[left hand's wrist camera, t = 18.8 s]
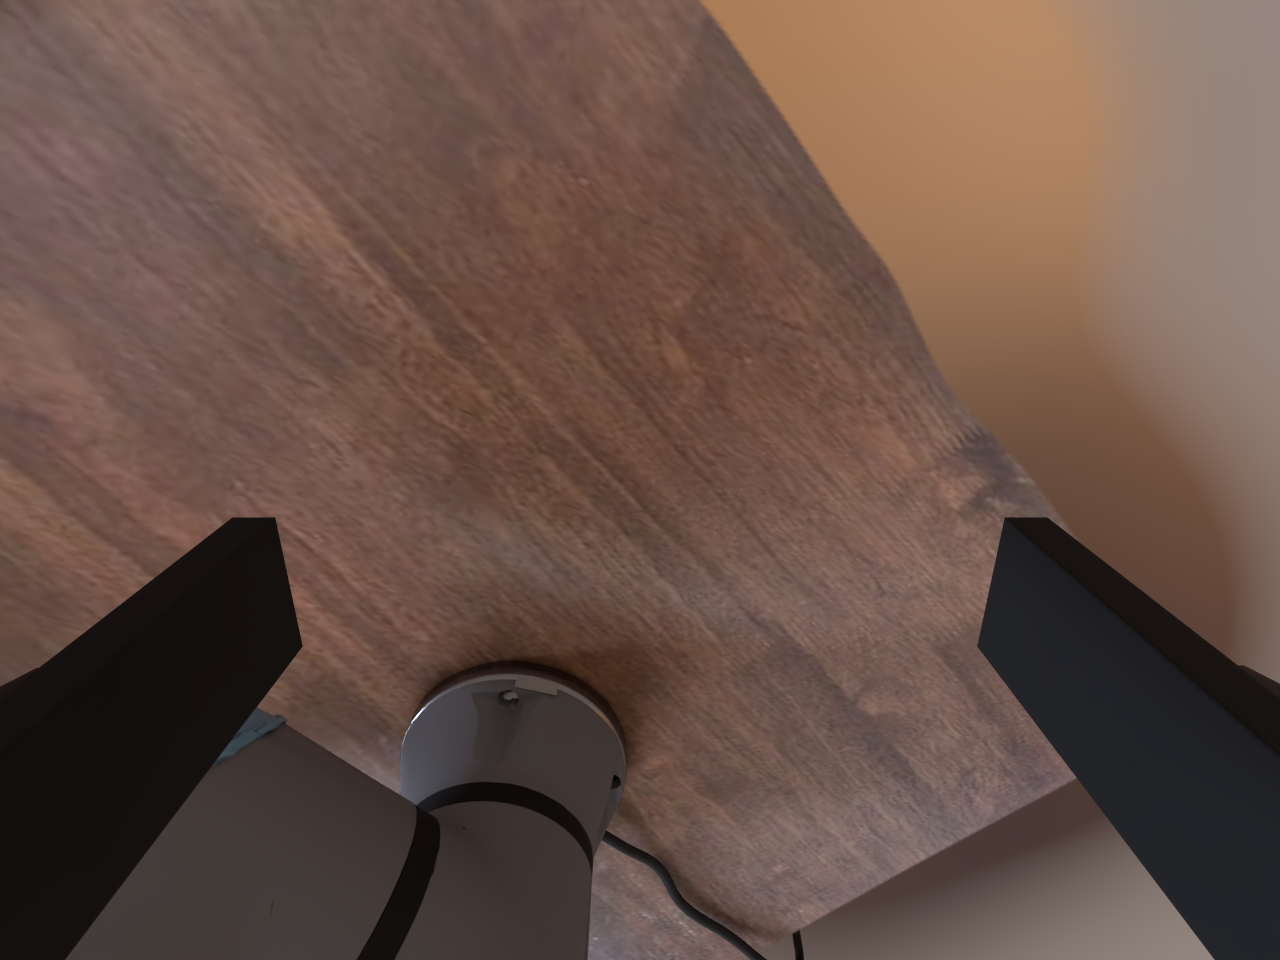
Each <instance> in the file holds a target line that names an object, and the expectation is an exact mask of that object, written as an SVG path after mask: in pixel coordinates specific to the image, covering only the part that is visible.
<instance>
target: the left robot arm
mask: <svg viewBox="0 0 1280 960" xmlns="http://www.w3.org/2000/svg"><path fill="white" fill-rule="evenodd" d="M302 647H303V646H302V641H301V636H300V632H299V627H298V622H297V618H296V613H295V608H294V604H293V599H292V594H291V590H290V585H289V580H288V575H287V571H286V566H285V561H284V557H283V552H282V547H281V543H280V538H279V533H278V529H277V524H276V519H275V518H231V519H230V520H229V521H228V522H226V523H225V524H224V525H222V526H221V527H220V528H219V529H217V530H216V531H215V532H213V533H212V534H211V535H209V536H208V537H207V538H206V539H204V540H203V541H202V542H200V543H199V544H198V545H197V546H195V547H194V548H193V549H191V550H190V551H189V552H188V553H186V554H185V555H184V556H182V557H181V558H180V559H179V560H177V561H176V562H175V563H173V564H172V565H171V566H170V567H168V568H167V569H166V570H164V571H163V572H162V573H161V574H159V575H158V576H157V577H155V578H154V579H153V580H152V581H150V582H149V583H148V584H146V585H145V586H144V587H143V588H141V589H140V590H139V591H137V592H136V593H135V594H134V595H132V596H131V597H130V598H128V599H127V600H126V601H125V602H123V603H122V604H121V605H119V606H118V607H117V608H116V609H114V610H113V611H112V612H110V613H109V614H108V615H107V616H105V617H104V618H103V619H101V620H100V621H99V622H98V623H96V624H95V625H94V626H92V627H91V628H90V629H89V630H87V631H86V632H85V633H83V634H82V635H81V636H80V637H78V638H77V639H76V640H74V641H73V642H72V643H71V644H69V645H68V646H67V647H65V648H64V649H63V650H62V651H60V652H59V653H58V654H56V655H55V656H54V657H53V658H51V659H50V660H49V661H47V662H46V663H45V664H44V665H42V666H41V667H40V668H36V669H34V670H32V671H30V672H28V673H26V674H24V675H22V676H20V677H18V678H17V679H15V680H13V681H11V682H9V683H7V684H5V685H3V686H1V687H0V960H588V942H589V924H590V905H591V887H592V870H593V858H594V856H595V853H596V851H597V849H598V847H599V845H600V842H601V840H602V841H604V842H605V843H607V844H609V845H610V846H612V847H614V848H615V849H617V850H619V851H621V852H622V853H624V854H626V855H628V856H630V857H632V858H635V859H637V860H639V861H641V862H643V863H645V864H646V865H648V866H649V867H651V868H652V869H653V870H654V871H655V872H656V873H657V874H658V875H659V877H660V878H661V880H662V881H663V883H664V885H665V887H666V889H667V891H668V893H669V895H670V897H671V898H672V900H673V901H674V903H675V904H676V905H677V906H678V907H679V908H680V909H681V910H682V911H683V912H684V913H685V914H686V915H687V916H689V917H690V918H691V919H693V920H694V921H696V922H697V923H699V924H701V925H702V926H704V927H706V928H708V929H709V930H711V931H713V932H715V933H716V934H718V935H720V936H721V937H723V938H724V939H726V940H727V941H728V942H730V943H731V944H732V945H734V946H735V947H736V948H738V949H739V950H740V951H741V952H742V953H744V954H745V955H746V956H747V957H748V958H750V959H751V960H766V959H765V958H764V957H762V956H761V955H760V954H759V953H758V952H756V951H755V950H754V949H753V948H752V947H750V946H749V945H748V944H747V943H746V942H744V941H743V940H742V939H741V938H740V937H738V936H737V935H736V934H734V933H733V932H731V931H730V930H728V929H727V928H726V927H724V926H722V925H721V924H719V923H717V922H716V921H714V920H712V919H710V918H709V917H707V916H705V915H704V914H702V913H700V912H699V911H698V910H696V909H695V908H694V907H692V906H691V905H690V904H689V903H688V902H687V901H686V900H685V899H684V898H683V897H682V896H681V894H680V893H679V891H678V890H677V888H676V886H675V884H674V882H673V880H672V878H671V876H670V874H669V873H668V871H667V870H666V868H665V867H664V866H663V865H662V864H661V863H660V862H659V861H658V860H657V859H656V858H654V857H653V856H651V855H650V854H648V853H646V852H644V851H642V850H640V849H638V848H636V847H634V846H632V845H630V844H628V843H626V842H625V841H623V840H621V839H619V838H618V837H616V836H614V835H613V834H611V833H610V832H608V831H606V829H607V827H608V825H609V823H610V820H611V818H612V816H613V814H614V812H615V809H616V807H617V805H618V803H619V800H620V798H621V796H622V793H623V790H624V785H625V779H626V743H625V737H624V734H623V730H622V728H621V725H620V723H619V721H618V719H617V717H616V715H615V714H614V712H613V711H612V709H611V708H610V706H609V705H608V704H607V703H606V702H605V701H604V699H603V698H602V697H601V696H599V695H598V694H597V693H596V692H595V691H594V690H593V689H591V688H590V687H589V686H587V685H586V684H584V683H583V682H581V681H580V680H578V679H576V678H574V677H572V676H570V675H568V674H566V673H564V672H561V671H559V670H556V669H553V668H549V667H546V666H542V665H537V664H531V663H523V662H498V663H490V664H484V665H479V666H476V667H472V668H469V669H466V670H464V671H461V672H459V673H457V674H455V675H453V676H451V677H449V678H447V679H446V680H444V681H443V682H441V683H440V684H439V685H437V686H436V687H435V688H434V689H433V690H432V691H430V692H429V693H428V694H427V696H426V697H425V698H424V699H423V700H422V702H421V703H420V705H419V706H418V708H417V710H416V712H415V714H414V716H413V718H412V720H411V722H410V725H409V727H408V729H407V732H406V734H405V737H404V739H403V742H402V747H401V753H400V771H401V795H399V794H398V793H396V792H394V791H393V790H391V789H389V788H388V787H386V786H384V785H382V784H381V783H379V782H378V781H376V780H374V779H373V778H371V777H370V776H368V775H366V774H365V773H363V772H362V771H360V770H358V769H357V768H355V767H354V766H352V765H350V764H349V763H347V762H346V761H344V760H342V759H341V758H339V757H338V756H336V755H334V754H333V753H331V752H330V751H328V750H326V749H325V748H323V747H322V746H320V745H318V744H317V743H315V742H314V741H312V740H310V739H309V738H307V737H306V736H304V735H302V734H301V733H299V732H298V731H296V730H295V729H293V728H291V727H290V726H288V725H287V724H285V723H286V722H287V721H288V720H287V719H286V718H285V717H283V716H282V715H274V716H272V715H270V714H268V713H267V712H265V711H263V710H261V709H259V708H257V706H258V705H259V703H260V702H261V701H262V699H263V698H264V697H265V695H266V694H267V693H268V691H269V690H270V689H271V687H272V686H273V685H274V683H275V682H276V681H277V680H278V678H279V677H280V676H281V674H282V673H283V672H284V670H285V669H286V668H287V666H288V665H289V664H290V662H291V661H292V660H293V658H294V657H295V656H296V654H297V653H298V652H299V650H300V649H301V648H302ZM977 647H978V648H979V649H980V650H981V652H982V653H983V654H984V656H985V657H986V658H987V660H988V661H989V662H990V664H991V665H992V666H993V668H994V669H995V670H996V672H997V673H998V674H999V676H1000V677H1001V678H1002V680H1003V681H1004V682H1005V683H1006V685H1007V686H1008V687H1009V689H1010V690H1011V691H1012V693H1013V694H1014V695H1015V697H1016V698H1017V699H1018V701H1019V702H1020V703H1021V705H1022V706H1023V707H1024V709H1025V710H1026V711H1027V713H1028V714H1029V715H1030V716H1031V718H1032V719H1033V720H1034V722H1035V723H1036V724H1037V726H1038V727H1039V728H1040V730H1041V731H1042V732H1043V734H1044V735H1045V736H1046V738H1047V739H1048V740H1049V742H1050V743H1051V744H1052V746H1053V747H1054V748H1055V749H1056V751H1057V752H1058V753H1059V755H1060V756H1061V757H1062V759H1063V760H1064V761H1065V763H1066V764H1067V765H1068V767H1069V768H1070V769H1071V771H1072V772H1073V773H1074V775H1075V776H1076V777H1077V779H1078V780H1079V781H1080V782H1081V784H1082V785H1083V786H1084V788H1085V789H1086V790H1087V792H1088V793H1089V794H1090V796H1091V797H1092V798H1093V800H1094V801H1095V802H1096V804H1097V805H1098V806H1099V808H1100V809H1101V810H1102V812H1103V813H1104V814H1105V816H1106V817H1107V818H1108V819H1109V821H1110V822H1111V823H1112V825H1113V826H1114V827H1115V829H1116V830H1117V831H1118V833H1119V834H1120V835H1121V837H1122V838H1123V839H1124V841H1125V842H1126V843H1127V845H1128V846H1129V847H1130V849H1131V850H1132V851H1133V852H1134V854H1135V855H1136V856H1137V858H1138V859H1139V860H1140V862H1141V863H1142V864H1143V866H1144V867H1145V868H1146V870H1147V871H1148V872H1149V874H1150V875H1151V876H1152V878H1153V879H1154V880H1155V881H1156V883H1157V884H1158V885H1159V887H1160V888H1161V889H1162V891H1163V892H1164V893H1165V895H1166V896H1167V897H1168V899H1169V900H1170V901H1171V903H1172V904H1173V905H1174V907H1175V908H1176V909H1177V911H1178V912H1179V913H1180V914H1181V916H1182V917H1183V918H1184V920H1185V921H1186V922H1187V924H1188V925H1189V926H1190V928H1191V929H1192V930H1193V932H1194V933H1195V934H1196V936H1197V937H1198V938H1199V940H1200V941H1201V942H1202V943H1203V945H1204V946H1205V948H1206V949H1207V950H1208V952H1209V953H1210V954H1211V955H1212V957H1213V958H1214V959H1215V960H1280V684H1279V683H1277V682H1275V681H1273V680H1271V679H1269V678H1267V677H1265V676H1263V675H1262V674H1259V673H1258V672H1256V671H1254V670H1252V669H1250V668H1248V667H1246V666H1238V665H1236V664H1235V663H1234V662H1232V661H1231V660H1230V659H1229V658H1227V657H1226V656H1225V655H1224V654H1222V653H1221V652H1220V651H1218V650H1217V649H1216V648H1215V647H1213V646H1212V645H1211V644H1209V643H1208V642H1207V641H1206V640H1204V639H1203V638H1202V637H1200V636H1199V635H1198V634H1197V633H1195V632H1194V631H1193V630H1191V629H1190V628H1189V627H1188V626H1186V625H1185V624H1184V623H1182V622H1181V621H1180V620H1179V619H1177V618H1176V617H1175V616H1173V615H1172V614H1171V613H1170V612H1168V611H1167V610H1166V609H1164V608H1163V607H1162V606H1160V605H1159V604H1158V603H1157V602H1155V601H1154V600H1153V599H1152V598H1150V597H1149V596H1148V595H1146V594H1145V593H1144V592H1143V591H1141V590H1140V589H1139V588H1137V587H1136V586H1135V585H1134V584H1132V583H1131V582H1130V581H1128V580H1127V579H1126V578H1124V577H1123V576H1122V575H1121V574H1119V573H1118V572H1117V571H1116V570H1114V569H1113V568H1112V567H1110V566H1109V565H1108V564H1107V563H1105V562H1104V561H1103V560H1101V559H1100V558H1099V557H1097V556H1096V555H1095V554H1094V553H1092V552H1091V551H1090V550H1089V549H1087V548H1086V547H1085V546H1083V545H1082V544H1081V543H1080V542H1078V541H1077V540H1076V539H1074V538H1073V537H1072V536H1071V535H1069V534H1068V533H1067V532H1065V531H1064V530H1063V529H1061V528H1060V527H1059V526H1058V525H1056V524H1055V523H1054V522H1052V521H1051V520H1050V519H1049V518H1005V519H1004V524H1003V529H1002V533H1001V538H1000V543H999V547H998V552H997V557H996V561H995V566H994V571H993V575H992V580H991V585H990V590H989V594H988V599H987V604H986V608H985V613H984V618H983V622H982V627H981V632H980V636H979V641H978V646H977ZM792 936H793V942H794V949H795V960H804V953H803V946H802V940H801V934H800V929H799V930H798V931H796V932H794V933H792Z"/></svg>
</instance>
